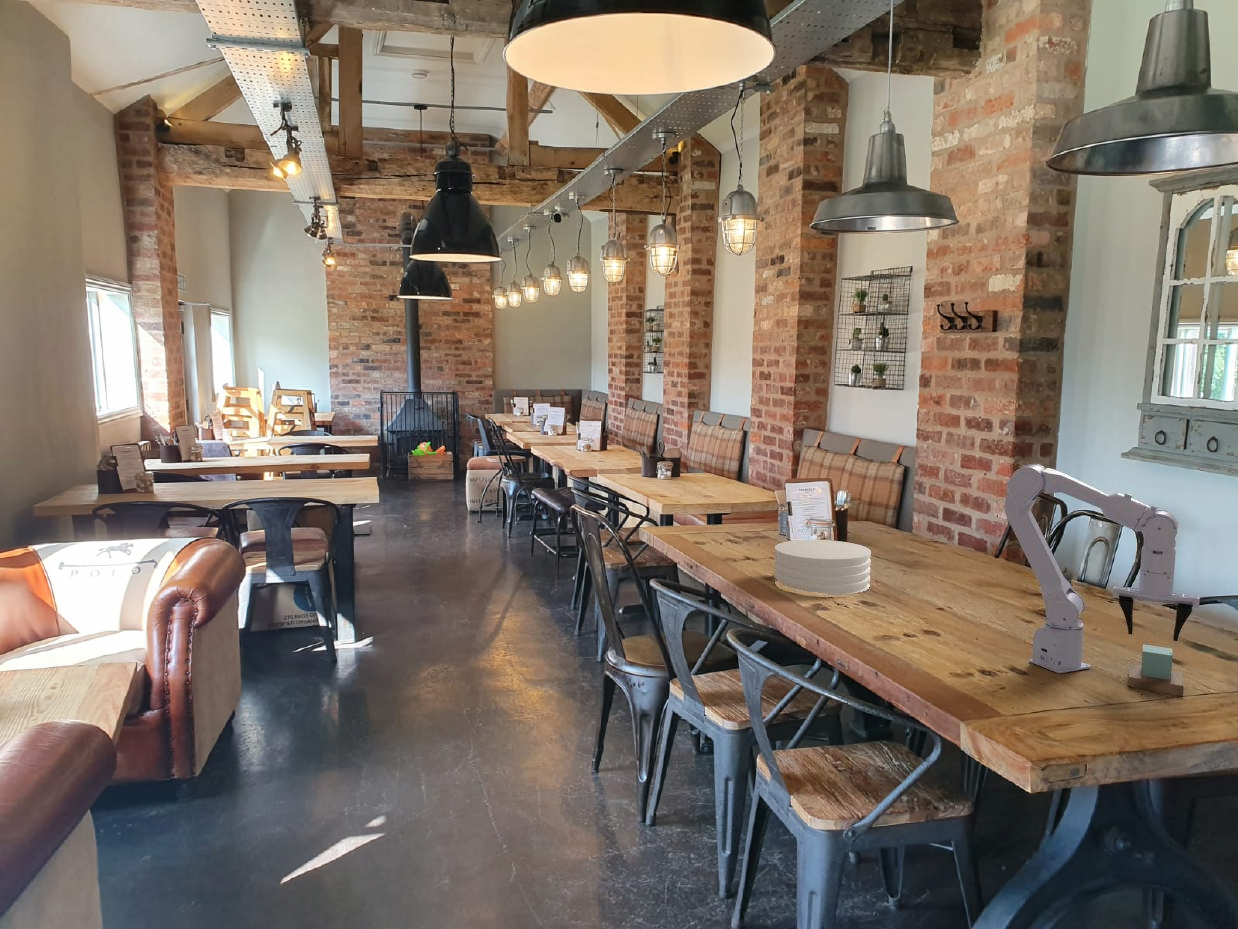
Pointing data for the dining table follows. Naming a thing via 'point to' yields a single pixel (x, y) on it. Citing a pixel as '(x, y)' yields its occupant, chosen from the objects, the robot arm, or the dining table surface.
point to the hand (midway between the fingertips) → (1152, 636)
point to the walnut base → (1156, 681)
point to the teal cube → (1157, 662)
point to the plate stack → (823, 566)
